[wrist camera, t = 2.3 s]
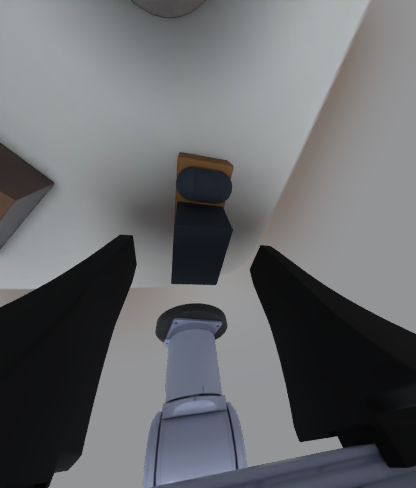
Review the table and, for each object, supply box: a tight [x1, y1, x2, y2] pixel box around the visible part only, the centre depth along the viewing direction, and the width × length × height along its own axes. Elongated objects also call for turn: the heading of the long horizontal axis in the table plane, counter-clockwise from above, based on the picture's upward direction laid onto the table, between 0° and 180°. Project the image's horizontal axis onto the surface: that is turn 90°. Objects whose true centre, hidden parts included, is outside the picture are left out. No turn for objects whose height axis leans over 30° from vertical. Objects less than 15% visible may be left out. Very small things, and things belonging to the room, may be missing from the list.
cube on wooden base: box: [171, 152, 233, 285], centre depth 10 cm, size 7×3×5 cm, turn 170°
